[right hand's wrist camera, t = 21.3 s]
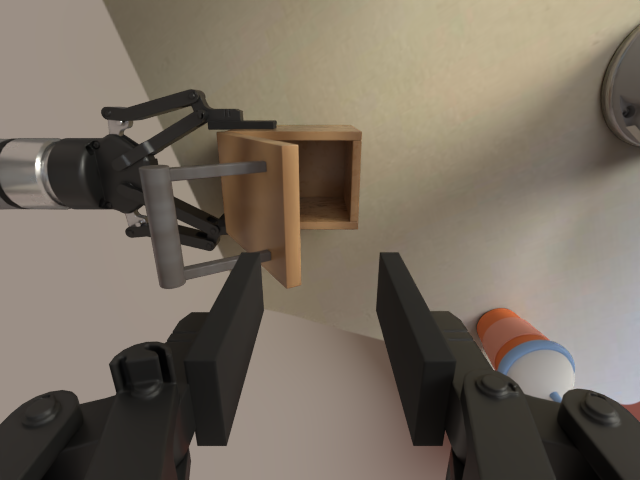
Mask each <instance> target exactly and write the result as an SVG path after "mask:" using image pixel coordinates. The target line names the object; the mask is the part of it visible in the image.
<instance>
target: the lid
mask: <svg viewBox="0 0 640 480" xmlns="http://www.w3.org/2000/svg"><path fill="white" fill-rule="evenodd" d="M217 142H218V153H219V163H220V164H209V165H197V166H184V167H172V168H169V166H167V165H148V166H142V167H140V168H139V173H140V179H141V184H142V190H143V195H144V201H145V206H146V212H147V218H148V223H149V229H150V234H151V240H152V245H153V251H154V257H155V262H156V268H157V273H158V279H159V285H160V287H162V288H164V289H172V288H177V287H180V286H182V285H184V284H185V282H186V280H188V279H192V278H197V277H201V276H205V275H210V274H214V273H219V272H223V271H227V270H232V269H233V267H234V266H235V264H236V262H237V260H238V258H239V256H240V255H238V256H233V257H228V258H223V259H219V260H214V261H209V262H204V263H200V264H195V265H190V266H186V267H184V264H183V257H182V250H181V243H180V237H179V230H178V223H177V216H176V210H175V203H174V196H173V190H172V183H171V181H179V180H189V179H200V178H210V177H221V183H222V193H223V204H224V214H225V224H226V232H227V233H228V234H229V235H230V236H231V237H232V238H233V239H234V240H235V241H236V242H237V243H238V244H239V245H240V246H241V247H243V248H244V249H245V250H246V251H247V252H248V253H260V259H261V265H262V266H263V267H264V268H265V269H266V270H267V271H268V272H269V273H270V274H271V275H273V276H274V277H275V278H276V279H277V280H278V281H279V282H280V283H281V284H282V285H283V286H284V287H285V288H286V289H288V288H292V287H295V286H299V285H301V255H300V204H299V154H298V145H297V144H291V143H286V142H281V141H275V140H270V139H265V138H259V137H254V136H249V135H244V134H238V133H233V132H217Z"/></svg>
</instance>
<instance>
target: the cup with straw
mask: <svg viewBox="0 0 640 480" xmlns="http://www.w3.org/2000/svg"><path fill="white" fill-rule="evenodd" d="M477 333H478V335H479V337H480V339H481V341H482V343H483V348H484V350H485V352H486V354H487V356H488V358H489V360H490V361H491V363H492V365H493V367H494V369H495V371H498V372H500V373H502V374H504V375H506V376H508V377H510V378H511V379H512V380H514V381H515V382H516V383H517V384H518V385H519V386H520V388H521V389H522V391H523V392H524V394H527V395H530V396H533V397H537V398H542V399H546V400H550V401H555V402H559V403H561V401H562V397H563V395H564V394H565V393H566V392H567V391H568V390H572V389H573V386H574V381H575V377H574V373H575V364H574V361H573V358H572V356H571V355H570V353H569V352H568V351H567V350H566V349H565V348H564V347H563V346H561V345H560V344H558V343H556V342H553V341H550V340H549V339H548V338H547V337H545V336H544V335H543V334H542V333H540V332H539V331H538V330H537V329H535V328H534V327H533V326H532V325H531V324H529V323H528V322H527V321H525V320H523V319H521V318H520V317H519V316H518V315H516V314H515V313H514V312H512V311H511V310H508V309H504V308H498V309H494V310H491V311H489V312H487V313H486V314H484V315H483V316H482V317H481V318H480V320H479V322H478V324H477Z"/></svg>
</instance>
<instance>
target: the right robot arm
mask: <svg viewBox="0 0 640 480" xmlns="http://www.w3.org/2000/svg"><path fill="white" fill-rule="evenodd" d="M601 105H602V111H603V115H604V118H605V121H606V123H607V125H608V127H609V128H610V130H611V131H612V132H613V133H614V134H615V135H616V136H617V137H618V138H619V139H621V140H622V141H624V142H626V143H628V144H631V145H635V146H640V25H639V26H638V27H637V28H636V29H634V30H633V31H632V32H631V33H630V34H629V36H628V37H627V38H626V39H625V40H624V41H623V43H622V44H621V45H620V47H619V48H618V50H617V51H616V53H615V54H614V56H613V58H612V60H611V62H610V64H609V66H608V69H607V71H606V74H605V77H604V81H603V86H602V93H601ZM263 311H264V305H263V290H262V274H261V259H260V253H241V254H240V256H239V258H238V260H237V262H236V264H235V266H234V267H233V269H232V271H231V273H230V275H229V277H228V279H227V280H226V282H225V284H224V286H223V288H222V290H221V292H220V294H219V295H218V297H217V299H216V301H215V303H214V305H213V307H212V308H211V310H210V312H192V313H190V314H189V315H187V316H186V317H185V318H183V319H182V320H181V321H179V323H178V324H177V326H176V327H175V329H174V330H173V334H171V335H170V337H169V338H168V340H167V342H166V343H160V342H145V343H140V344H136V345H133V346H131V347H129V348H127V349H125V350H123V351H122V352H120V353H119V354H118V355H116V356H115V357H114V358H113V360H112V361H111V362H110V364H109V366H110V370H111V374H112V378H113V381H114V385H115V389H116V395H115V396H111V397H108V398H105V399H100V400H96V401H92V402H87V403H83V404H79V401H78V398H77V396H76V395H75V394H74V393H73V392H70V391H65V390H60V391H53V392H48V393H45V394H42V395H39V396H37V397H35V398H33V399H31V400H29V401H27V402H26V403H24V404H22V405H21V406H20V407H18V408H17V409H16V410H15V411H14V412H12V413H11V414H10V415H9V416H8V417H7V418H6V419H5V420H4V421H3V422H2V423H1V424H0V480H189V475H190V464H191V459H190V452H189V445H190V442H191V440H192V437H193V435H194V432H195V434H196V440H197V445H198V446H227V442H228V439H229V435H230V431H231V428H232V424H233V420H234V417H235V413H236V410H237V406H238V402H239V399H240V395H241V391H242V388H243V384H244V381H245V377H246V373H247V370H248V366H249V362H250V359H251V355H252V351H253V348H254V344H255V341H256V337H257V333H258V330H259V326H260V322H261V319H262V315H263ZM376 312H377V315H378V319H379V322H380V326H381V330H382V333H383V337H384V341H385V344H386V348H387V352H388V355H389V359H390V362H391V366H392V369H393V373H394V377H395V381H396V384H397V388H398V391H399V395H400V399H401V402H402V406H403V410H404V413H405V417H406V420H407V424H408V428H409V431H410V435H411V439H412V442H413V445H414V446H442V445H443V439H444V434H445V430H446V433H447V435H448V438H449V441H450V443H451V452H450V458H449V463H448V469H447V474H446V480H640V422H639V421H638V420H637V419H636V418H635V417H634V416H633V415H632V414H631V413H630V412H629V411H628V410H627V409H625V408H624V407H623V406H622V405H620V404H619V403H618V402H616V401H614V400H612V399H610V398H609V397H607V396H605V395H603V394H600V393H597V392H594V391H591V390H584V389H573V390H568V391H567V392H566V393H565V394H564V395H563V397H562V401H561V403H559V402H555V401H550V400H546V399H542V398H537V397H533V396H530V395H527V394H524V392H523V391H522V389H521V388H520V386H519V385H518V384H517V383H516V382H515V381H514V380H512V379H511V378H510V377H508V376H506V375H504V374H502V373H500V372H498V371H494V370H493V368H492V367H491V365H490V364H489V362H488V361H487V359H486V358H485V356H484V355H483V353H482V352H481V350H480V349H479V347H478V346H477V344H476V343H475V341H473V338H472V337H471V335H470V334H469V332H467V329H466V327H465V326H464V324H463V323H462V321H461V320H460V319H458V318H457V317H456V316H454V315H453V314H452V313H450V312H449V311H430V310H429V308H428V307H427V305H426V303H425V301H424V299H423V297H422V295H421V293H420V292H419V290H418V288H417V286H416V284H415V282H414V280H413V279H412V277H411V275H410V273H409V271H408V269H407V267H406V266H405V264H404V262H403V260H402V258H401V256H400V254H399V253H380V259H379V274H378V290H377V305H376Z"/></svg>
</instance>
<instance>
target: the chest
mask: <svg viewBox="0 0 640 480" xmlns="http://www.w3.org/2000/svg"><path fill="white" fill-rule="evenodd" d="M276 126H277V128H275V129H232V130H228V131H225V132H233V133H238V134H244V135H249V136H254V137H259V138H265V139H270V140H275V141H281V142H286V143H291V144H297V145H298V154H299V204H300V229H358V212H359V188H360V164H361V139H362V132H361V131H359V130H358V129H356V128H355V127H353V126H351V125H276Z"/></svg>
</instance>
